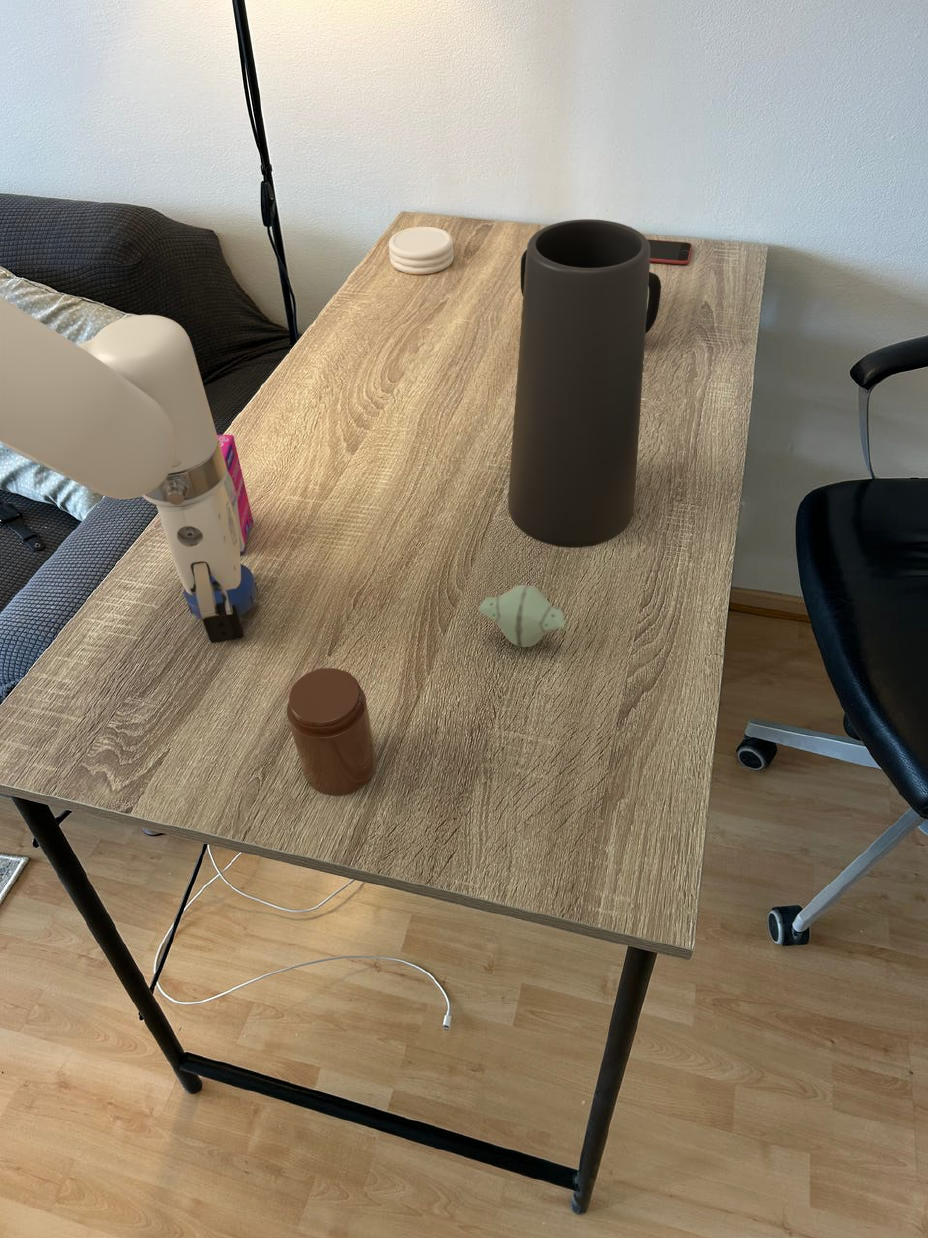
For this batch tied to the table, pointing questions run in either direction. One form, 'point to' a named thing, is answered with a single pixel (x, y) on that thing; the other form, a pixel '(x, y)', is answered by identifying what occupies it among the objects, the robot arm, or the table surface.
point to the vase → (579, 382)
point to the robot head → (523, 615)
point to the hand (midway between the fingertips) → (226, 610)
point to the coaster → (421, 250)
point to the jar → (332, 731)
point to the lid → (231, 594)
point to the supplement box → (236, 489)
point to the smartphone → (669, 251)
